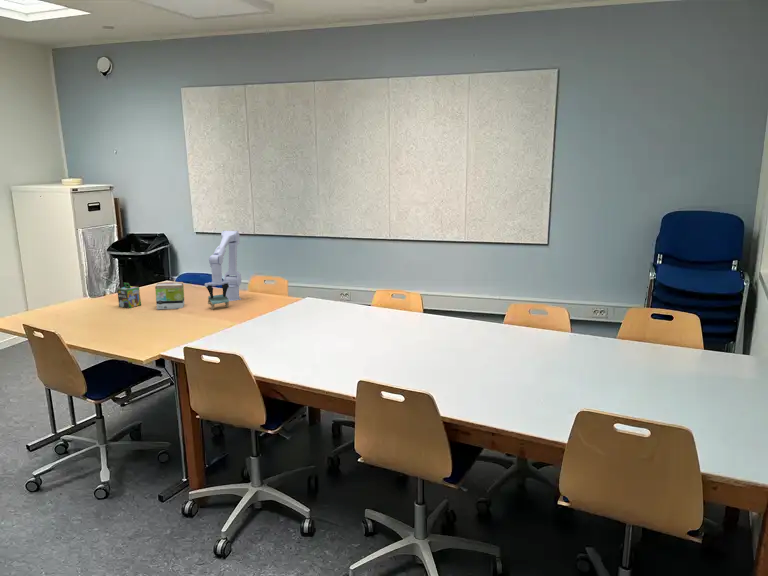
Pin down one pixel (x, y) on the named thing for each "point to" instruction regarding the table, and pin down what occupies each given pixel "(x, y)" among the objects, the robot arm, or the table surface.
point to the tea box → (169, 295)
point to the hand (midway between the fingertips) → (218, 297)
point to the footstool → (217, 300)
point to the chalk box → (128, 296)
